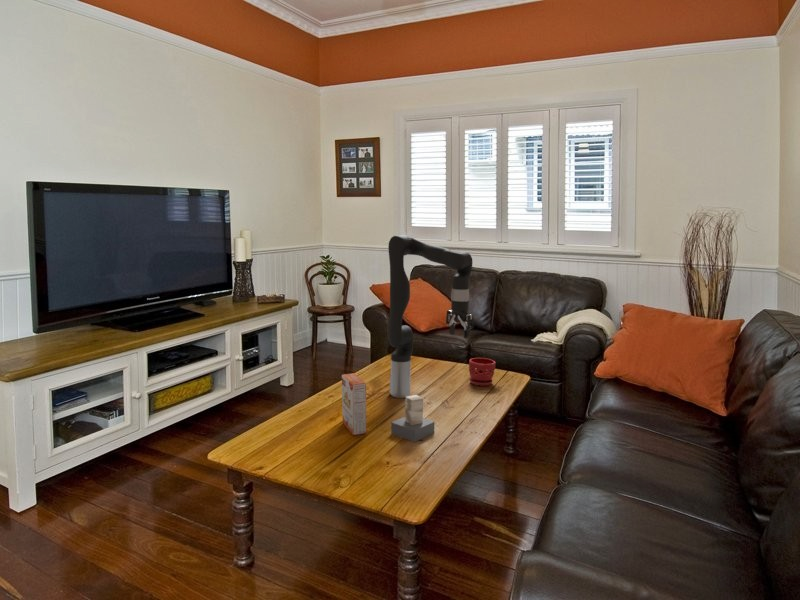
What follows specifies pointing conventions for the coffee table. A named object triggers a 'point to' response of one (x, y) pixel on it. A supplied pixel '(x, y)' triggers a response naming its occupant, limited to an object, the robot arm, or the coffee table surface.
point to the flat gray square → (412, 429)
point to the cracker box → (354, 403)
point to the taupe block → (414, 409)
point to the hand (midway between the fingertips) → (459, 336)
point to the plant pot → (481, 371)
